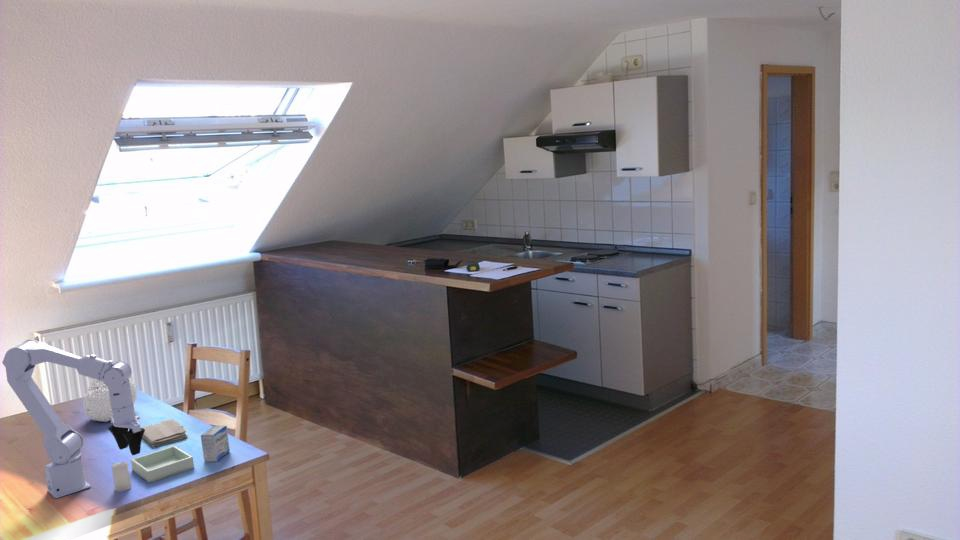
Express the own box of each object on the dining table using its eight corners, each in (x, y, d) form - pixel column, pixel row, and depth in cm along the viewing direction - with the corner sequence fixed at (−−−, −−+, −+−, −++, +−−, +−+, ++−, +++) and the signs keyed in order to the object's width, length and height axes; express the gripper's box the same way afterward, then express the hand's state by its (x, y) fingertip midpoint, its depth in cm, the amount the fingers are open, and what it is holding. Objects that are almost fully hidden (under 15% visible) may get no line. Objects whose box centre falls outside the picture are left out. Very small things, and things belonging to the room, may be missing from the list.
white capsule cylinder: (118, 493, 222) (114, 469, 220) (112, 488, 225) (109, 465, 223) (133, 487, 224) (130, 464, 223) (128, 483, 228) (124, 460, 226)
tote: (149, 483, 227) (147, 471, 226) (132, 470, 237) (130, 459, 236) (194, 467, 236) (192, 456, 235) (176, 456, 245) (174, 445, 245)
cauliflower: (94, 385, 295) (102, 356, 286) (141, 401, 299) (150, 373, 290) (69, 425, 279) (77, 396, 270) (119, 442, 283) (129, 413, 274)
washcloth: (153, 449, 253) (152, 440, 253) (136, 435, 267) (134, 426, 266) (190, 438, 261) (189, 429, 260) (171, 425, 274) (170, 416, 274)
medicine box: (217, 462, 239) (213, 435, 237) (203, 461, 240) (200, 434, 238) (230, 451, 247) (227, 425, 245) (217, 451, 248) (213, 424, 246)
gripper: (148, 405, 222) (155, 451, 224) (124, 397, 231) (131, 441, 234) (123, 413, 216) (130, 460, 219) (100, 404, 226) (107, 449, 228)
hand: (129, 451), depth 226 cm, fingers open, 7 cm apart
